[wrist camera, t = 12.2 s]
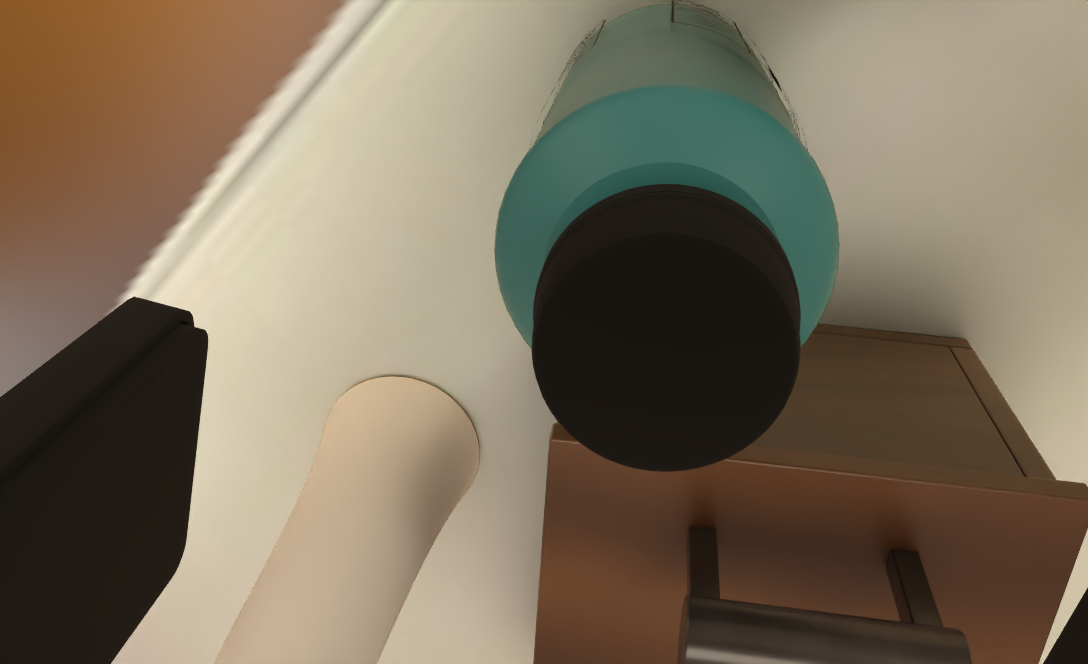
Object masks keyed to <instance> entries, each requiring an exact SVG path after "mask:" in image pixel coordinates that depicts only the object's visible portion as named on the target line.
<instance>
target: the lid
mask: <svg viewBox="0 0 1088 664" xmlns="http://www.w3.org/2000/svg"><path fill="white" fill-rule="evenodd" d="M1087 528H1088V486H1087V485H1086V484H1084V483H1077V482H1068V481H1059V480H1050V479H1042V478H1033V477H1024V476H1015V475H1007V474H998V473H989V472H980V471H971V470H963V469H954V468H945V467H936V466H928V465H919V464H910V463H901V462H892V461H884V460H875V459H866V458H857V457H849V456H840V455H831V454H822V453H814V452H805V451H796V450H787V449H778V448H770V447H761V446H752V445H749V446H747V447H746V448H745V449H743V450H742V451H740V452H738V453H736V454H734V455H733V456H731V457H729V458H727V459H724V460H722V461H719V462H717V463H714V464H711V465H708V466H704V467H701V468H697V469H691V470H685V471H673V472H659V471H647V470H641V469H635V468H631V467H628V466H624V465H620V464H618V463H615V462H613V461H610V460H608V459H605V458H603V457H601V456H600V455H598V454H596V453H594V452H592V451H591V450H589V449H588V448H586V447H585V446H584V445H582V444H581V443H579V442H578V441H577V440H576V439H575V438H574V437H572V436H571V435H570V434H569V433H568V432H567V431H566V430H565V429H564V428H563V426H562V425H561V424H559V423H554V424H553V425H552V430H551V434H550V439H549V452H548V466H547V480H546V494H545V508H544V522H543V536H542V550H541V564H540V578H539V592H538V606H537V620H536V634H535V648H534V662H533V664H1038V663H1039V661H1040V658H1041V655H1042V652H1043V650H1044V647H1045V644H1046V641H1047V639H1048V636H1049V633H1050V630H1051V628H1052V625H1053V622H1054V619H1055V617H1056V614H1057V611H1058V608H1059V605H1060V603H1061V600H1062V597H1063V594H1064V592H1065V589H1066V586H1067V583H1068V581H1069V578H1070V575H1071V572H1072V570H1073V567H1074V564H1075V561H1076V559H1077V556H1078V553H1079V550H1080V548H1081V545H1082V542H1083V539H1084V537H1085V534H1086V531H1087Z"/></svg>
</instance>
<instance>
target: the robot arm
mask: <svg viewBox="0 0 1088 664" xmlns="http://www.w3.org/2000/svg"><path fill="white" fill-rule="evenodd" d="M207 351H208V335H207V332H206V331H205V330H203V329H199V328H196V327H194V321H193V316H192V314H191V313H190V311H186V310H183V309H179V308H175V307H171V306H168V305H164V304H160V303H156V302H153V301H149V300H145V299H141V298H137V297H133V298H131V299H129V300H127V301H126V302H124V303H123V304H122V305H120V306H119V307H118V308H116V309H115V310H114V311H113V312H111V313H110V314H109V315H107V316H106V317H105V318H103V319H102V320H101V321H99V322H98V323H97V324H96V325H94V326H93V327H92V328H90V329H89V330H88V331H87V332H85V333H84V334H82V335H81V336H80V337H79V338H78V339H76V340H75V341H73V342H72V343H71V344H70V345H68V346H67V347H66V348H64V349H63V350H62V351H60V352H59V353H58V354H56V355H55V356H54V357H53V358H51V359H50V360H49V361H47V362H46V363H45V364H43V365H42V366H41V367H39V368H38V369H37V370H35V371H34V372H33V373H31V374H30V375H29V376H28V377H26V378H25V379H24V380H22V381H21V382H20V383H19V384H17V385H16V386H14V387H13V388H12V389H11V390H9V391H8V392H7V393H5V394H4V395H3V396H1V397H0V664H111V662H112V661H113V660H114V658H115V657H116V655H117V654H118V653H119V651H120V650H121V648H122V647H123V646H124V644H125V643H126V641H127V640H128V639H129V637H130V636H131V634H132V633H133V632H134V630H135V629H136V628H137V626H138V625H139V623H140V622H141V621H142V619H143V618H144V616H145V615H146V614H147V612H148V611H149V609H150V608H151V607H152V605H153V604H154V602H155V601H156V600H157V598H158V597H159V595H160V594H161V593H162V591H163V590H164V588H165V587H166V586H167V584H168V583H169V581H170V580H171V579H172V577H173V575H174V574H175V572H176V570H177V568H178V566H179V564H180V561H181V558H182V556H183V552H184V549H185V545H186V539H187V530H188V521H189V512H190V503H191V494H192V485H193V476H194V467H195V458H196V449H197V440H198V431H199V422H200V414H201V405H202V396H203V387H204V378H205V369H206V360H207ZM1043 664H1088V588H1087V590H1086V592H1085V593H1084V595H1083V597H1082V598H1081V600H1080V602H1079V603H1078V605H1077V607H1076V609H1075V610H1074V612H1073V614H1072V615H1071V617H1070V619H1069V621H1068V622H1067V624H1066V626H1065V627H1064V629H1063V631H1062V632H1061V634H1060V636H1059V638H1058V639H1057V641H1056V643H1055V644H1054V646H1053V648H1052V650H1051V651H1050V653H1049V655H1048V656H1047V658H1046V660H1045V661H1044V663H1043Z"/></svg>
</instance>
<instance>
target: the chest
mask: <svg viewBox="0 0 1088 664" xmlns="http://www.w3.org/2000/svg"><path fill="white" fill-rule="evenodd" d="M557 423H559V422H558V421H557ZM559 424H560V423H559ZM750 445H752V446H761V447H770V448H778V449H787V450H796V451H805V452H814V453H822V454H831V455H840V456H849V457H857V458H866V459H875V460H884V461H892V462H901V463H910V464H919V465H928V466H936V467H945V468H954V469H963V470H971V471H980V472H989V473H998V474H1007V475H1015V476H1024V477H1033V478H1042V479H1050V480H1056V478H1055V477H1054V475H1053V474H1052V472H1051V470H1050V469H1049V467H1048V466H1047V464H1046V463H1045V461H1044V460H1043V458H1042V456H1041V455H1040V453H1039V452H1038V450H1037V449H1036V447H1035V445H1034V444H1033V442H1032V441H1031V439H1030V438H1029V436H1028V434H1027V433H1026V431H1025V430H1024V428H1023V427H1022V425H1021V424H1020V422H1019V420H1018V419H1017V417H1016V416H1015V414H1014V413H1013V411H1012V409H1011V408H1010V406H1009V405H1008V403H1007V402H1006V400H1005V398H1004V397H1003V395H1002V394H1001V392H1000V391H999V389H998V388H997V386H996V384H995V383H994V381H993V380H992V378H991V377H990V375H989V373H988V372H987V370H986V369H985V367H984V366H983V364H982V362H981V361H980V359H979V358H978V356H977V355H976V353H975V352H974V350H973V349H972V347H971V345H970V344H969V342H968V341H967V340H966V339H956V338H946V337H937V336H927V335H917V334H908V333H898V332H888V331H879V330H869V329H859V328H850V327H840V326H830V325H821V324H817V326H816V327H815V329H814V330H813V331H812V333H811V334H810V336H809V337H808V339H807V340H806V342H805V343H804V344H803V345H802V346H801V350H800V364H799V369H798V375H797V378H796V381H795V384H794V388H793V390H792V392H791V394H790V397H789V399H788V401H787V403H786V405H785V407H784V409H783V410H782V412H781V413H780V415H779V416H778V418H777V419H776V420H775V422H774V423H773V424H772V425H771V426H770V427H769V429H768V430H767V431H766V432H765V433H764V434H762V435H761V436H760V437H759V438H758V439H757V440H756V441H754V442H753V443H752V444H750Z"/></svg>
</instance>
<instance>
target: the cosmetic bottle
mask: <svg viewBox="0 0 1088 664" xmlns="http://www.w3.org/2000/svg"><path fill="white" fill-rule="evenodd" d="M479 456H480V455H479V444H478V438H477V435H476V432H475V429H474V427H473V425H472V423H471V421H470V419H469V418H468V416H467V415H466V413H465V412H464V411H463V409H462V408H461V407H460V406H459V405H458V404H457V403H456V402H455V401H454V400H453V399H452V398H451V397H449V396H448V395H447V394H445V393H444V392H442V391H441V390H439V389H438V388H436V387H434V386H432V385H430V384H427V383H425V382H422V381H419V380H415V379H411V378H405V377H392V376H391V377H380V378H375V379H371V380H368V381H365V382H362V383H360V384H358V385H356V386H354V387H353V388H351V389H350V390H348V391H347V392H346V393H345V394H343V395H342V396H341V397H340V398H339V399H338V401H337V402H336V403H335V405H334V406H333V408H332V409H331V411H330V413H329V415H328V418H327V421H326V424H325V428H324V432H323V435H322V439H321V442H320V446H319V449H318V451H317V454H316V457H315V460H314V463H313V465H312V468H311V470H310V473H309V475H308V477H307V480H306V482H305V485H304V487H303V489H302V491H301V494H300V496H299V498H298V500H297V503H296V505H295V507H294V509H293V511H292V513H291V515H290V517H289V519H288V521H287V523H286V525H285V527H284V529H283V531H282V533H281V535H280V537H279V539H278V541H277V543H276V545H275V547H274V549H273V551H272V553H271V555H270V556H269V558H268V560H267V562H266V564H265V566H264V568H263V570H262V572H261V574H260V576H259V578H258V579H257V581H256V583H255V585H254V587H253V589H252V591H251V593H250V595H249V597H248V598H247V600H246V602H245V604H244V606H243V608H242V610H241V612H240V614H239V616H238V617H237V619H236V621H235V623H234V625H233V627H232V629H231V631H230V633H229V635H228V637H227V638H226V640H225V642H224V644H223V646H222V648H221V650H220V652H219V654H218V656H217V658H216V660H215V662H214V664H376V663H377V661H378V659H379V657H380V655H381V652H382V650H383V648H384V646H385V643H386V641H387V639H388V637H389V635H390V632H391V630H392V628H393V626H394V623H395V621H396V619H397V617H398V615H399V613H400V610H401V608H402V606H403V604H404V602H405V600H406V597H407V595H408V593H409V591H410V589H411V587H412V584H413V582H414V580H415V578H416V576H417V574H418V572H419V570H420V568H421V566H422V564H423V562H424V560H425V558H426V556H427V554H428V552H429V550H430V549H431V547H432V545H433V543H434V541H435V539H436V537H437V536H438V534H439V532H440V530H441V529H442V527H443V525H444V524H445V522H446V520H447V519H448V517H449V516H450V514H451V512H452V511H453V510H454V508H455V507H456V505H457V504H458V502H459V501H460V499H461V498H462V497H463V495H464V494H465V493H466V492H467V490H468V489H469V488H470V486H471V484H472V482H473V481H474V478H475V476H476V473H477V469H478V465H479Z"/></svg>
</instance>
